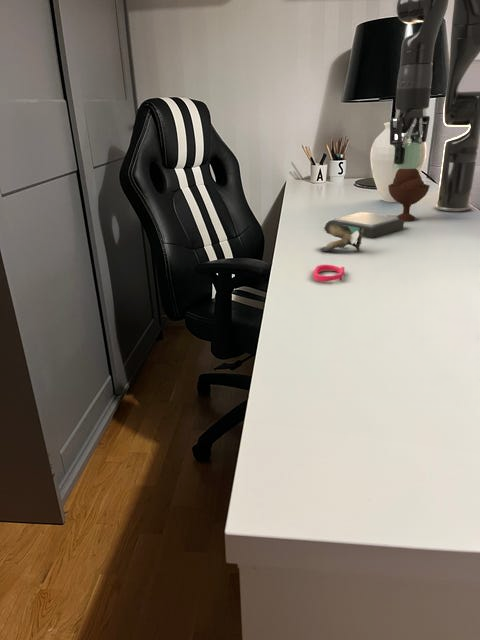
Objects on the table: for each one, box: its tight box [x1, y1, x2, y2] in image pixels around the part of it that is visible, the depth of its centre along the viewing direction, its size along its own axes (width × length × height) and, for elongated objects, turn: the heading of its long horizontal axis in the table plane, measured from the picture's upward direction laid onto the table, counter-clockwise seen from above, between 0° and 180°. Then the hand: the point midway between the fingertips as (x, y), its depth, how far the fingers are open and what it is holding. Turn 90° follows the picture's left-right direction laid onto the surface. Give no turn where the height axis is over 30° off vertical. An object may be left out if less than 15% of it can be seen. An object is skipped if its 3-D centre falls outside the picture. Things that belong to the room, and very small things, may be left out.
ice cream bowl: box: [388, 168, 431, 222], centre depth 141 cm, size 11×11×15 cm
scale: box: [330, 211, 405, 239], centre depth 133 cm, size 14×14×3 cm
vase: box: [369, 121, 428, 203], centre depth 167 cm, size 18×18×25 cm
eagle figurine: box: [319, 219, 364, 253], centre depth 114 cm, size 8×7×9 cm
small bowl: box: [393, 143, 421, 169], centre depth 121 cm, size 6×6×6 cm
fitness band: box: [312, 264, 345, 283], centre depth 98 cm, size 8×6×2 cm
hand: (406, 162), depth 122 cm, fingers closed on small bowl, 6 cm apart
